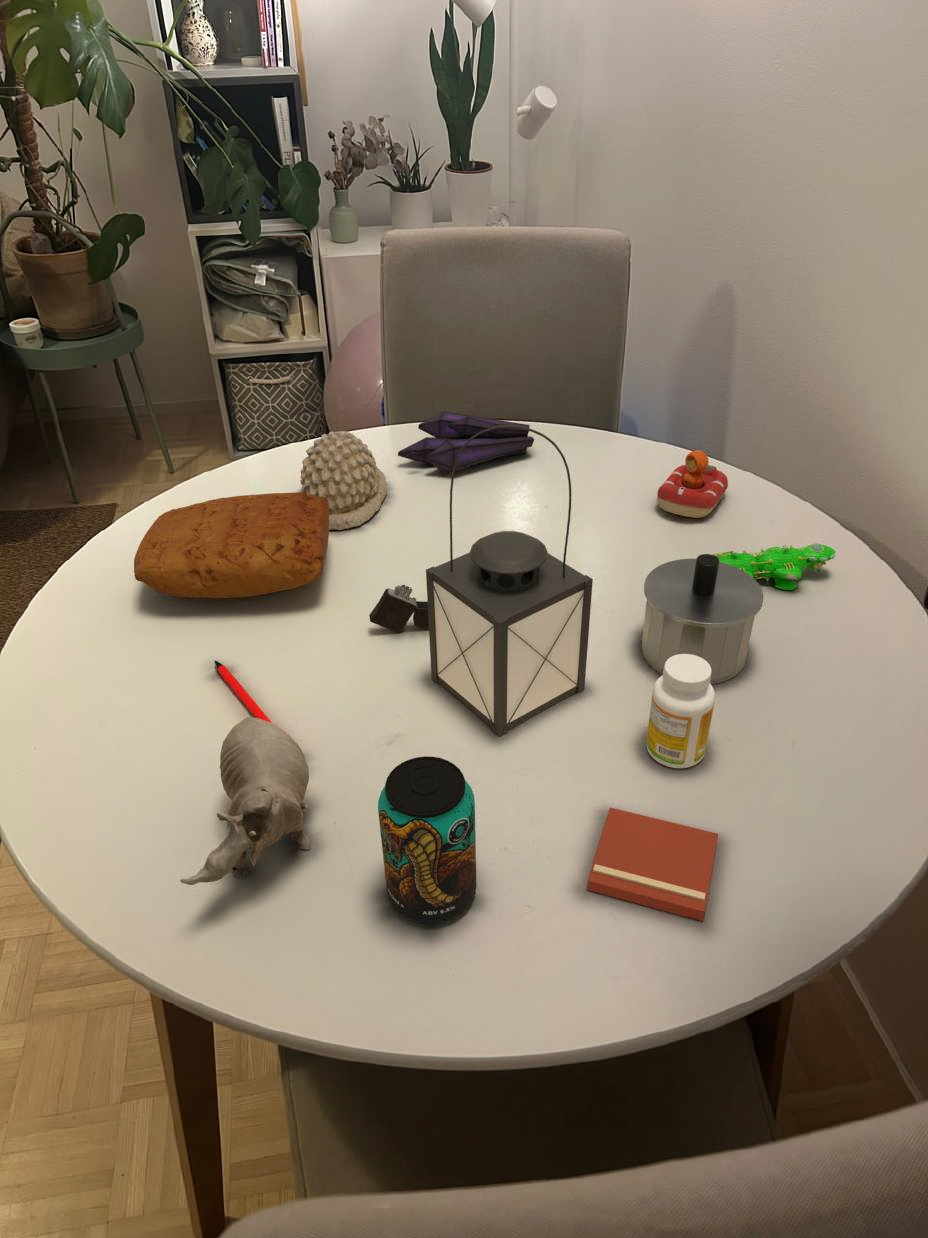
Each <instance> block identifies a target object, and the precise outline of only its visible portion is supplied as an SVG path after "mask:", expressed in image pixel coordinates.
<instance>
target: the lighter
mask: <svg viewBox="0 0 928 1238" xmlns="http://www.w3.org/2000/svg"><path fill="white" fill-rule="evenodd" d="M412 592H413V588H412V587H411V586H408V585H405V584H402V585H396V586H395V587H394V589H393V588H390V587H388V588H386V589H385V590H384V591H383V593H382V595H381V597H380V599H379V601H378V602H377V603H376V605H375V606H374V607H373V609H372V610H371V612H370V613H369V615H368V616H369V622H370V623H372V624H375V625H378V626H380V627H383V628H385V629H388V630H391V631H393V632H396V633H397V634H400V633H401V632H402V631H403V629H404V628H405V626H406V625H407V624H408V622H409V620H410V619H411V618H412V621H413V626H415V627H417V628H421V629H428V630H429V620H428V601H421V600H420V601H419V600H417V598H416V597H411V594H412Z"/></svg>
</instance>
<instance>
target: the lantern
mask: <svg viewBox="0 0 928 1238" xmlns="http://www.w3.org/2000/svg"><path fill="white" fill-rule="evenodd" d="M499 428H517V429H523V430H528V431H529V432H531V433H534V434H536V435H539V436H540V437H542V438H544V439H545V440H546V441H548V442H549V443H550V444H551V445H552V446H553V447H554V448H555V449H556V451H557V452H558V453H559V455H560V456H561V459H562V461H563V464H564V467H565V470H566V475H567V482H568V511H567V512H568V513H567V523H566V533H565V541H564V550H563V559H562V560H560V559H559V558H557V557H555V556H553V555H552V554H550V553H549V551H548V549H547V547H546V545H545V544H544V543H543V542H542V541H541V540H540V539H539V538H536V537H534V536H532V535H529V534H527V533H525V532H521V531H516V530H501V531H497V532H492V533H490V534H488V535H485V536H483V537H480V538H479V539H478V540H476V541H475V542H474V543H473V544H472V545H471V547H470V550H469V552H468V553H464V554H462V555H460V556H458V557H455V558H453V557H454V556H453V488H454V478H455V473H456V471H455V470H456V465H457V461H458V459H459V457H460V455H461V453H462V451H463V449H464V448H465V447H466V446H467V445H468V443H469V442H470V441H471V440H472V439H473V438H475V437H477V436H478V435H480V434H482V433H484V432H487V431H490V430H494V429H499ZM450 479H451V480H450V489H449V553H450V554H449V555H450V556H449V557H450V560H448V561H445V562H443V563H441V564H439V565H436V566H431V567H429V568H426V569H425V578H426V598H427V601H426V602H428V620H429V629H428V635H429V653H430V654H429V655H430V656H429V657H430V675H431V677H430V678H431V680H432V681H434V683H436V684H439V685H440V686H442V687H443V688H444V690H446V691H447V692H449V693H450V694H451V695H452V696H453V697H454V698H456V699H457V700H458V701H459V702H460V703H461V704H463V705H464V706H465V707H466V708H467V709H468V710H470V711H471V712H472V713H473V714H474V715H476V716H477V717H478V718H479V719H481V721H483V722H484V723H485V724H486V725H488V727H489V728H491V729H493V733H494V734H496V735H497V737H502V736H504V735H505V734H507V733H508V731H510V730H512V729H513V728H515V727H517V726H518V725H520V724H522V723H524V722H526V721H527V720H529V719H531V718H533V717H534V716H536V715H538V714H540V713H542V712H544V711H545V710H548V709H549V708H552V707H553V706H555V705H557V704H558V703H560V702H562V701H564V700H565V699H567V698H570V697H571V696H572V695H575V694H576V693H577V694H579V693H581V692H582V691H585V687H586V686H585V685H586V673H587V662H588V661H587V660H588V649H589V633H590V621H591V608H592V595H593V594H592V593H593V584H594V583H593V581H594V579H593V578H592V577H591V576H589V575H587V574H585V575H584V574H583V573H581V572H579V571H578V570H577V569H575V568H573V567H572V566H570V565H568V564H567V563H566V561H567V548H568V541H569V535H570V534H569V533H570V524H571V513H572V481H571V474H570V469H569V466H568V462H567V460H566V457H565V455H564V454H563V452H562V450H561V448H559V446H558V445H557V443H555V442H554V440H552V439H551V438H550V437H548V436H547V435H545V434H544V433H542V432H539V431H537V430H535V429H533V428H530V427H529V428H526V427H520V426H496V427H492V428H488V429H485V430H482V431H480V432H479V433H477V434H476V435H474V436H472V437H471V438H470V439H469V440H468V441H467V442H466V443H465V444H464V445H463V447H462V448H461V449H460V452H459V454H458V456H457V458H456V460H455V463H454V468H453V472H452V473H451V478H450Z"/></svg>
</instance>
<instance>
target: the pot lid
mask: <svg viewBox="0 0 928 1238" xmlns="http://www.w3.org/2000/svg"><path fill="white" fill-rule="evenodd" d="M714 555H715V554H714ZM714 555H712V554H710V553H703V554H702V553H701V554H700V555H698V556H697V557H696V558H681V559H680V558H679V559H675V560H671V561H667V562H664V563H662V564H660V565H658V566H656V567H654V568H653V569H652V570H651V571H650V572H649V573H648V574H647V575H646V578H645V580H644V583H643V593H644V596H645V599H646V601H647V600H648V602H649V603H650V605H651V606H652V607H653V608H654V609H656V610H657V611H658V612H660V613H661V614H663V615H664V616H666V617H668V618H670V619H672V620H675V621H678V622H681V623H684V624H687V625H692V626H698V627H707V628H720V627H729V626H734V625H738V624H741V623H744V622H746V621H748V620H750V619H751V618H753V617H754V616H757V615H758V614H759V612H761V609H762V606H763V603H764V591H763V589H762V587H761V585H760V584H759V583H758V581H757V579H754V578H755V577H754V578H753V577H751V576H750V575H749V574H747V573H746V572H744V571H742V570H741V569H739V568H736V567H734V566H732V565H729V564H726V563H722V562H719V559H718V558H717V557H716V556H717V555H716V556H714ZM754 618H755V617H754Z"/></svg>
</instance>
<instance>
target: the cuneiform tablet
mask: <svg viewBox="0 0 928 1238" xmlns="http://www.w3.org/2000/svg"><path fill="white" fill-rule="evenodd" d="M329 534H330V530H329V503H328V499H327V498H324V497H318V496H317V495H313V494H304V493H301V492H300V491H298V492H271V493H258V494H245V495H235V496H228V497H219V498H214V499H209V500H206V501H202V502H198V503H193V504H190V505H188V506H182V507H178V508H172V509H170V510H167V511H165V512H163V513H162V514H161V515H159V516H158V517H157V518H156V519H155V521H154V522H153V523H152V524H151V526H150V527H149V529H148V530H147V531H146V533H145V534H144V535H143V538H142V539H141V541H140V544H139V545H138V547H137V550H136V553H135V555H134V558H133V573H134V580H136V581H137V582H141V583H143V584H145V586H148V587H149V588H151V589H153V590H155V591H157V593H159V594H163V595H166V594H167V595H170V596H174V597H176V598H196V599H230V598H248V597H256V596H260V595H267V594H273V593H277V592H282V591H287V590H293V589H296V588H300V587H301V586H303V585H307V584H310V583H312V582H314V581H316V580H318V578H319V577H320V575H321V574H322V571H323V569H324V564H325V560H326V555H327V553H328V544H329Z"/></svg>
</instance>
